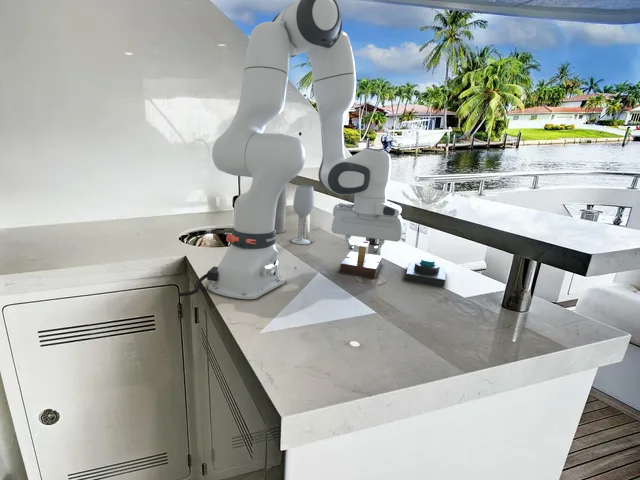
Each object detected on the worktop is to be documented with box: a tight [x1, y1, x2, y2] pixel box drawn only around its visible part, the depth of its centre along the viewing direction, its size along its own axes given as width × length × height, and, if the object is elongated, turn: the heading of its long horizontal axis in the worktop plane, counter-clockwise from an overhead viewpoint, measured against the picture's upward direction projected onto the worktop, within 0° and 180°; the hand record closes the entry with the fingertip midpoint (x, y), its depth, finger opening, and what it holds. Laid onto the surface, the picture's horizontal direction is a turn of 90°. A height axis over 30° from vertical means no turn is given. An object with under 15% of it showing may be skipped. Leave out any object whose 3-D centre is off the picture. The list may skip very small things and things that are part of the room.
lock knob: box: [357, 240, 370, 263], centre depth 116 cm, size 6×2×5 cm, turn 153°
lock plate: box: [339, 250, 383, 279], centre depth 117 cm, size 14×10×3 cm
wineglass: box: [291, 184, 315, 245], centre depth 142 cm, size 8×8×21 cm
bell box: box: [404, 260, 446, 288], centre depth 111 cm, size 12×10×4 cm
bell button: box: [420, 257, 436, 267], centre depth 110 cm, size 4×4×2 cm
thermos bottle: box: [274, 183, 288, 234], centre depth 156 cm, size 8×8×28 cm
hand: (363, 251), depth 116 cm, fingers open, 6 cm apart
